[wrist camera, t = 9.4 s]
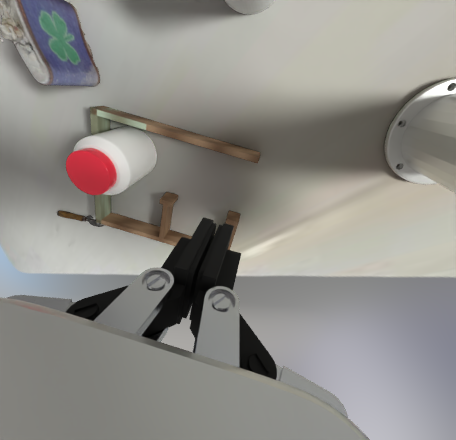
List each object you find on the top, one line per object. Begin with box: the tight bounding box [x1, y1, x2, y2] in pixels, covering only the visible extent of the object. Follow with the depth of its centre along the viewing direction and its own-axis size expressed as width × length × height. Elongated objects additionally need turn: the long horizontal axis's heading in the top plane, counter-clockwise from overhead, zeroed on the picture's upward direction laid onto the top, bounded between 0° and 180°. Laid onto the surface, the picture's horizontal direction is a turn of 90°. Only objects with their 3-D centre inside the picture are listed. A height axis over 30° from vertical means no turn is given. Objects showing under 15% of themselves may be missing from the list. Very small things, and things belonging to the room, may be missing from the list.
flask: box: [0, 0, 100, 86], centre depth 27 cm, size 9×3×11 cm, turn 9°
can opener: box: [57, 211, 104, 227], centre depth 45 cm, size 9×2×1 cm, turn 74°
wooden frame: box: [90, 106, 260, 250], centre depth 38 cm, size 24×19×3 cm
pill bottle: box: [66, 126, 157, 195], centre depth 32 cm, size 8×8×11 cm
